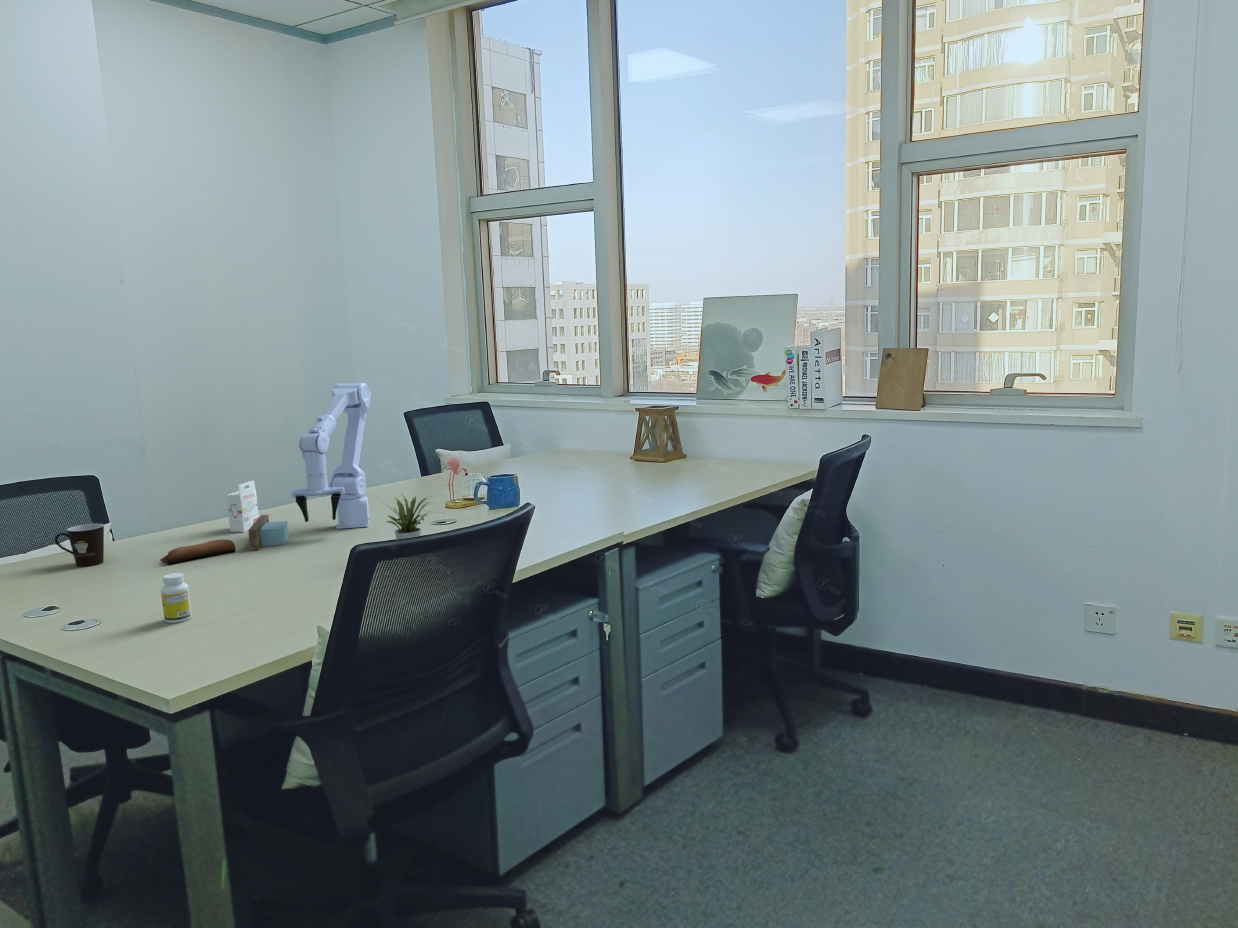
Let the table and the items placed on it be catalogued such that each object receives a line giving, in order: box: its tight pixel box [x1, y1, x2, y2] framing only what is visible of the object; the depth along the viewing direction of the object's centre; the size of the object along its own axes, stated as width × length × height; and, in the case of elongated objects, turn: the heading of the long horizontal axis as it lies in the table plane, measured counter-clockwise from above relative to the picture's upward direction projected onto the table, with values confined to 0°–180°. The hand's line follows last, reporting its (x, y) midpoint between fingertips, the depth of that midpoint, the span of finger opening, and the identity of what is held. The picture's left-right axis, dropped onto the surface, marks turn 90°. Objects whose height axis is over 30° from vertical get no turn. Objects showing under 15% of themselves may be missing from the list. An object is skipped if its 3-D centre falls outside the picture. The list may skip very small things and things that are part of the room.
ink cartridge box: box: [225, 480, 260, 533], centre depth 283 cm, size 9×5×15 cm, turn 168°
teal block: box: [260, 520, 290, 547], centre depth 266 cm, size 6×10×5 cm, turn 11°
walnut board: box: [247, 514, 270, 552], centre depth 266 cm, size 2×20×6 cm, turn 11°
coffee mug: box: [54, 523, 105, 568], centre depth 247 cm, size 12×9×10 cm
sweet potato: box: [160, 538, 236, 566], centre depth 252 cm, size 18×7×7 cm
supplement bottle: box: [160, 572, 193, 624], centre depth 198 cm, size 5×5×10 cm
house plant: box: [382, 493, 433, 540], centre depth 248 cm, size 14×14×16 cm
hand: (320, 520), depth 269 cm, fingers open, 7 cm apart
